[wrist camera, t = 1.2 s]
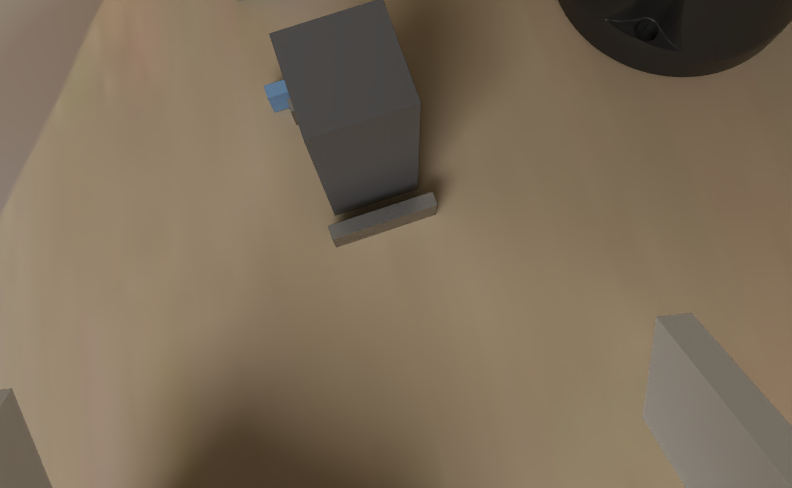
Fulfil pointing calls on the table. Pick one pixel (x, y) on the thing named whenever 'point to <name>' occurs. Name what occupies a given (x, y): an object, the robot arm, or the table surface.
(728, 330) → the table surface
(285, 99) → the blue flat block
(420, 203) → the pair of grey bars
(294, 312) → the table surface
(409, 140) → the dark grey rectangular block
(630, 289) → the table surface
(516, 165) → the table surface
